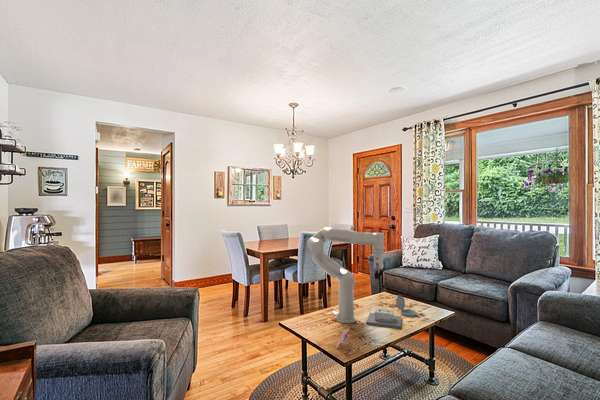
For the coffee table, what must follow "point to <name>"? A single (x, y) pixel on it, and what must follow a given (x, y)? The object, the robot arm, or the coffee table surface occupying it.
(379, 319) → the slotted block
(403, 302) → the pocket watch
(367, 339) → the coffee table surface
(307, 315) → the coffee table surface
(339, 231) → the robot arm
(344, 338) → the lily
